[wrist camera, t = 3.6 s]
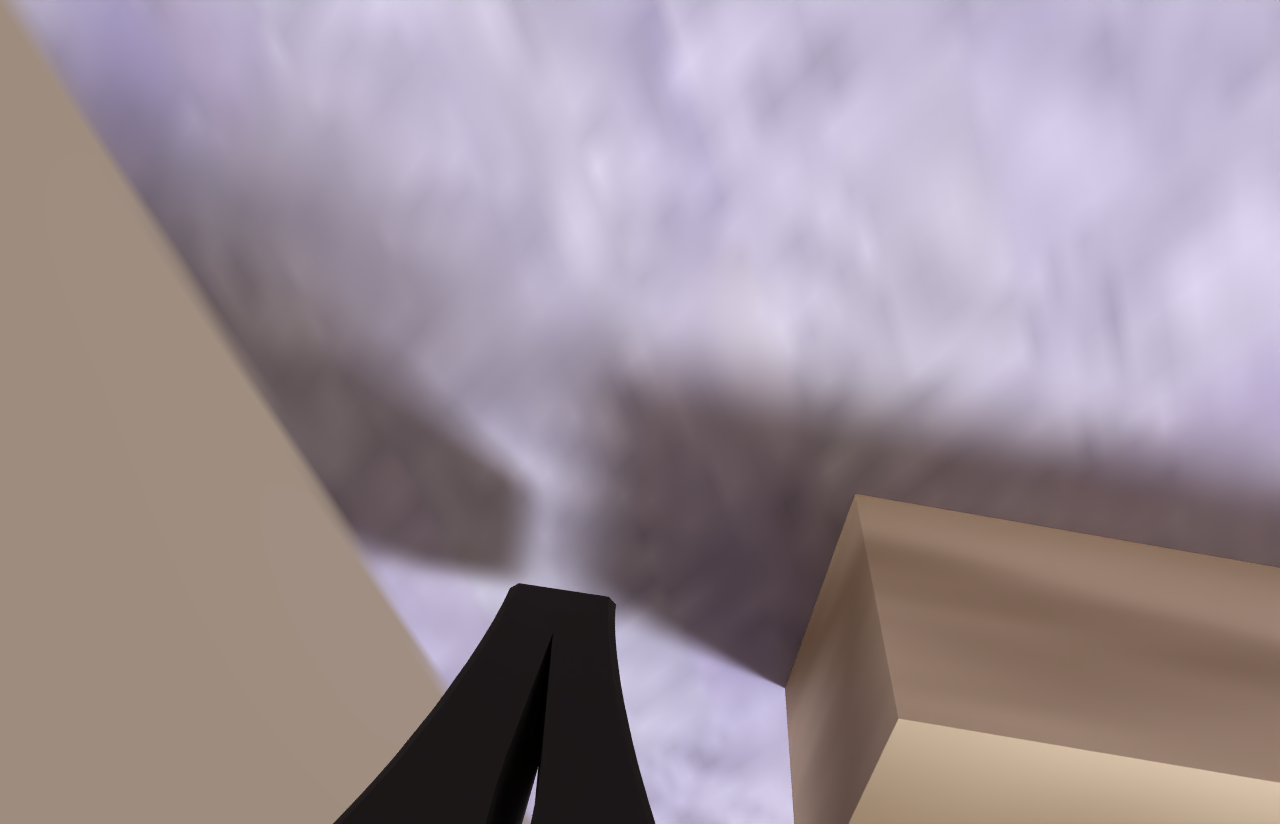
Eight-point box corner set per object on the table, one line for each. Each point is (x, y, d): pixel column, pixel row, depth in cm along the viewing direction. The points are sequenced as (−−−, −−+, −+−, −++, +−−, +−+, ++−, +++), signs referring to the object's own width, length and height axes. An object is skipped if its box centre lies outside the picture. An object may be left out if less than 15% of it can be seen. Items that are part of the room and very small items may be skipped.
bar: (1499, 797, 15) (1726, 1082, 12) (784, 676, 15) (801, 931, 12) (1686, 627, 13) (2030, 916, 10) (853, 482, 13) (900, 726, 9)
